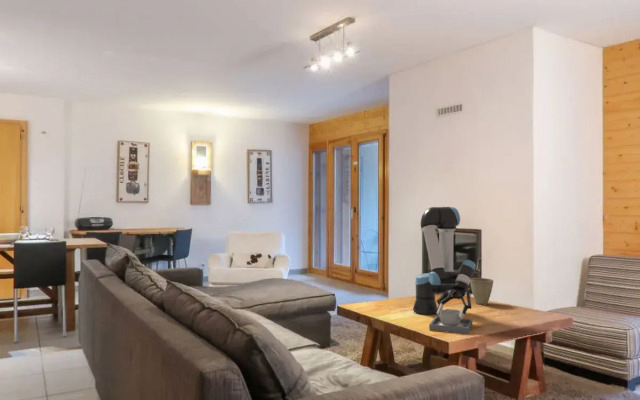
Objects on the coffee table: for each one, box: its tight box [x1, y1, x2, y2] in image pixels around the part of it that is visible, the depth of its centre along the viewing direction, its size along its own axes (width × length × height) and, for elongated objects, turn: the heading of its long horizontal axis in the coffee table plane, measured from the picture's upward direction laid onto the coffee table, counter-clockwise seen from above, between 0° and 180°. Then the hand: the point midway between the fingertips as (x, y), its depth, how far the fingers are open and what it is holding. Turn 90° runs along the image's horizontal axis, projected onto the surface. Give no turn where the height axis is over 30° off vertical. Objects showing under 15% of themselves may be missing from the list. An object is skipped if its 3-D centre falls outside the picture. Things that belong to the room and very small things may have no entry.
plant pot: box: [469, 277, 494, 305], centre depth 331 cm, size 15×15×16 cm
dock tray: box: [428, 316, 473, 335], centre depth 267 cm, size 20×20×3 cm
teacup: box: [439, 308, 461, 326], centre depth 267 cm, size 14×11×8 cm
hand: (449, 316), depth 265 cm, fingers open, 12 cm apart
